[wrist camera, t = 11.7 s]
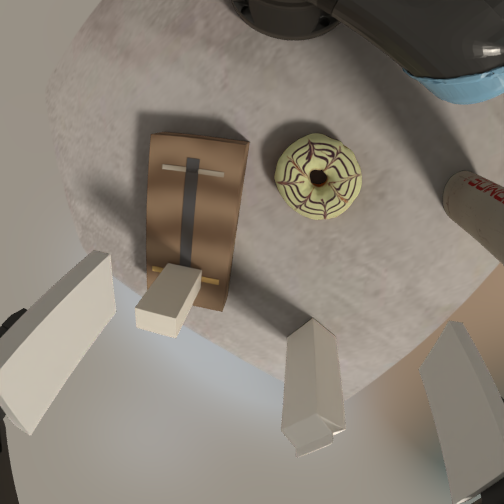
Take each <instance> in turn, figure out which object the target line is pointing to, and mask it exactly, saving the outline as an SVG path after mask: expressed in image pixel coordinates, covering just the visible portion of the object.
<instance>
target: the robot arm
mask: <svg viewBox="0 0 504 504" xmlns="http://www.w3.org/2000/svg"><path fill="white" fill-rule="evenodd" d="M232 3H233V5H234V7H235V9H236V11H237V12H238V14H239V15H240V17H241V18H242V19H243V20H244V21H245V22H246V23H247V24H248V25H249V26H250V27H252V28H253V29H255V30H256V31H258V32H260V33H262V34H265V35H267V36H270V37H273V38H277V39H283V40H306V39H311V38H315V37H318V36H321V35H323V34H325V33H327V32H329V31H331V30H332V29H333V28H335V27H336V26H337V25H338V24H339V23H340V22H342V23H343V24H345V25H347V26H348V27H350V28H351V29H352V30H354V31H355V32H357V33H358V34H360V35H361V36H363V37H364V38H365V39H367V40H368V41H370V42H371V43H372V44H374V45H375V46H376V47H378V48H379V49H380V50H381V51H383V52H384V53H385V54H387V55H388V56H389V57H390V58H392V59H393V60H394V61H395V62H397V63H398V64H399V65H400V66H401V67H402V68H403V71H404V72H405V73H406V74H407V75H409V76H410V77H412V78H414V79H416V80H418V81H419V82H420V83H421V84H422V85H424V86H425V87H426V88H427V89H428V90H429V91H430V92H432V93H433V94H434V95H435V96H436V97H438V98H440V99H442V100H445V101H447V102H450V103H453V104H474V103H479V102H483V101H486V100H489V99H492V98H494V97H496V96H498V95H500V94H503V93H504V0H232ZM115 313H116V306H115V298H114V288H113V279H112V268H111V256H110V254H108V253H104V252H100V251H96V250H93V251H92V252H91V253H90V254H89V255H87V256H86V257H85V258H84V259H83V260H82V261H81V262H79V263H78V264H77V265H76V266H75V267H74V268H73V269H71V270H70V271H69V272H68V273H67V274H66V275H65V276H63V277H62V278H61V279H60V280H59V281H58V282H57V283H56V284H55V285H54V286H53V287H51V289H49V290H48V291H47V292H46V293H45V294H44V295H43V296H42V297H41V298H40V299H39V300H38V301H37V302H36V303H35V304H34V305H33V306H31V307H30V308H29V309H28V310H26V309H24V308H23V309H21V310H20V311H18V312H16V313H14V314H12V315H11V316H10V317H9V318H8V319H7V320H6V321H5V322H4V323H3V324H2V326H1V327H0V504H19V502H18V497H17V493H16V490H15V485H14V480H13V475H12V470H11V465H10V458H9V452H8V445H7V437H6V427H5V424H4V421H3V418H4V417H5V415H7V417H8V418H9V419H10V420H11V422H12V423H13V424H14V425H15V426H17V427H18V428H20V429H21V430H22V431H24V432H26V433H27V434H29V435H30V436H31V434H32V433H33V431H34V429H35V428H36V426H37V425H38V423H39V421H40V420H41V418H42V417H43V415H44V414H45V412H46V410H47V409H48V407H49V406H50V404H51V403H52V401H53V400H54V398H55V397H56V395H57V394H58V392H59V391H60V389H61V388H62V386H63V385H64V383H65V382H66V380H67V379H68V377H69V376H70V375H71V373H72V372H73V370H74V369H75V367H76V366H77V364H78V363H79V362H80V360H81V359H82V358H83V356H84V355H85V353H86V352H87V351H88V349H89V348H90V346H91V345H92V344H93V342H94V341H95V340H96V338H97V337H98V336H99V334H100V333H101V332H102V330H103V329H104V328H105V326H106V324H108V322H109V321H110V320H111V318H112V317H113V316H114V314H115ZM419 372H420V375H421V378H422V381H423V384H424V388H425V391H426V394H427V397H428V400H429V404H430V407H431V411H432V414H433V417H434V421H435V425H436V429H437V432H438V436H439V440H440V444H441V449H442V453H443V457H444V462H445V466H446V471H447V476H448V481H449V486H450V492H451V498H452V504H459V503H462V502H466V501H469V500H470V499H472V498H473V497H475V496H477V495H478V494H480V493H481V498H480V499H478V500H477V501H475V502H473V503H472V504H504V399H503V398H502V397H501V396H500V394H499V392H498V390H497V387H496V385H495V383H494V381H493V379H492V377H491V375H490V373H489V371H488V369H487V367H486V365H485V363H484V361H483V359H482V357H481V355H480V353H479V351H478V350H477V348H476V346H475V344H474V342H473V340H472V339H471V337H470V335H469V333H468V332H467V330H466V328H465V326H464V325H463V323H461V322H454V321H449V322H448V323H447V325H446V327H445V328H444V330H443V332H442V334H441V335H440V337H439V338H438V340H437V342H436V343H435V345H434V347H433V348H432V350H431V351H430V353H429V355H428V356H427V357H426V359H425V361H424V362H423V364H422V365H421V367H420V368H419Z"/></svg>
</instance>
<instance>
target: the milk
mask: <svg viewBox="0 0 504 504" xmlns="http://www.w3.org/2000/svg"><path fill="white" fill-rule="evenodd" d="M345 429H346V422H345V411H344V401H343V391H342V382H341V373H340V365H339V357H338V349H337V341H336V336H334V335H333V334H332V333H331V332H329V331H328V330H327V329H326V328H324V327H323V326H322V325H321V324H320V323H318V322H317V321H316V320H315V319H313V318H312V319H311V320H310V321H308V322H307V323H306V324H304V325H303V326H302V327H300V328H299V329H298V330H296V331H295V332H294V333H292V334H291V335H290V336H288V337H287V351H286V368H285V384H284V398H283V413H282V424H281V431H282V432H283V434H284V435H285V436H286V437H287V438H288V440H289V441H290V442H291V443H292V444H293V446H294V447H295V448H296V457H297V458H298V457H301V456H303V455H306V454H308V453H311V452H313V451H316V450H318V449H321V448H323V447H326V446H328V445H330V444H332V443H333V435H335V434H337V433H339V432H341V431H343V430H345Z"/></svg>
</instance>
